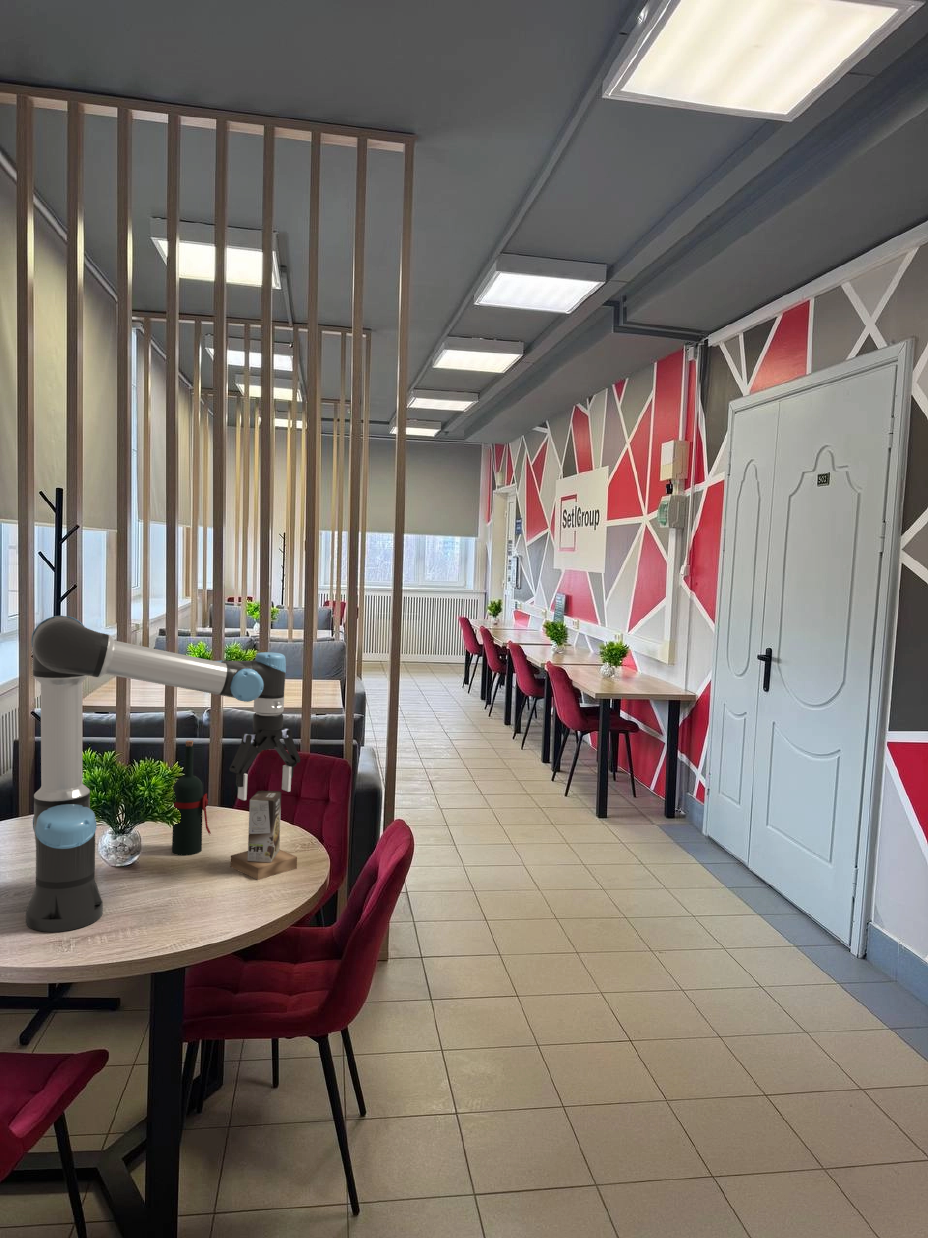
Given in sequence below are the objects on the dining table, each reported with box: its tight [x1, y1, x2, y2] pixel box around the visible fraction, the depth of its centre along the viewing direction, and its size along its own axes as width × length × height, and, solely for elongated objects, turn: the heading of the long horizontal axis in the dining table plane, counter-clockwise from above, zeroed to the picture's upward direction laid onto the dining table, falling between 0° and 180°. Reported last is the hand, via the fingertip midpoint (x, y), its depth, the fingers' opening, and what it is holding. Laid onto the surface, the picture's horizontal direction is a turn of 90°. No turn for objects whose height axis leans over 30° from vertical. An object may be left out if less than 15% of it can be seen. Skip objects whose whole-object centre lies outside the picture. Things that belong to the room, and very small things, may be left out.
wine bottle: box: [171, 740, 212, 857], centre depth 226 cm, size 8×10×30 cm
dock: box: [230, 848, 298, 881], centre depth 217 cm, size 12×12×3 cm
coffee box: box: [247, 790, 282, 863], centre depth 216 cm, size 9×6×16 cm
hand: (264, 794), depth 216 cm, fingers open, 13 cm apart
